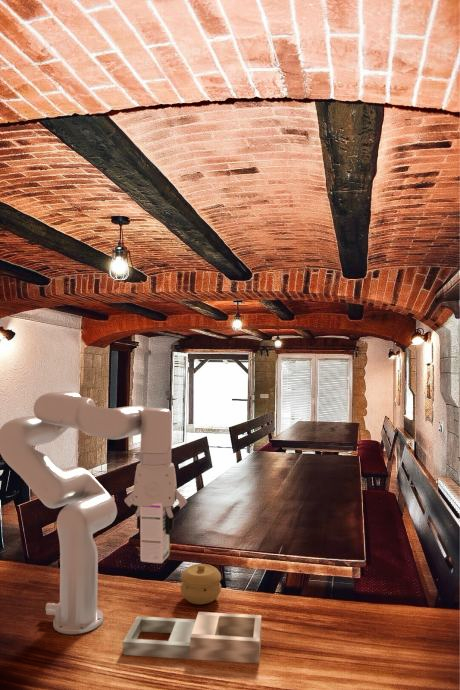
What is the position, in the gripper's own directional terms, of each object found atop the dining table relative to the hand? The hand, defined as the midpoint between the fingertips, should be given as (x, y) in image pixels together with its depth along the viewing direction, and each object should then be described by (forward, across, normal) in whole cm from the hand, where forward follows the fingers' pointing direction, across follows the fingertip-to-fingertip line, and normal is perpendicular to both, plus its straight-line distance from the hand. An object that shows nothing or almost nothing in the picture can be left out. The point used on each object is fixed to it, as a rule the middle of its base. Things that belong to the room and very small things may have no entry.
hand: (155, 531), depth 127 cm
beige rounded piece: (+27, +8, +23) cm, 36 cm away
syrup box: (+7, 0, 0) cm, 7 cm away
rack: (+27, +10, 0) cm, 29 cm away
